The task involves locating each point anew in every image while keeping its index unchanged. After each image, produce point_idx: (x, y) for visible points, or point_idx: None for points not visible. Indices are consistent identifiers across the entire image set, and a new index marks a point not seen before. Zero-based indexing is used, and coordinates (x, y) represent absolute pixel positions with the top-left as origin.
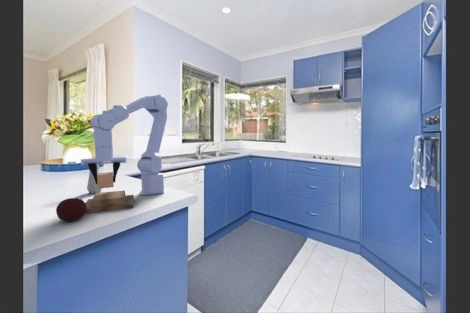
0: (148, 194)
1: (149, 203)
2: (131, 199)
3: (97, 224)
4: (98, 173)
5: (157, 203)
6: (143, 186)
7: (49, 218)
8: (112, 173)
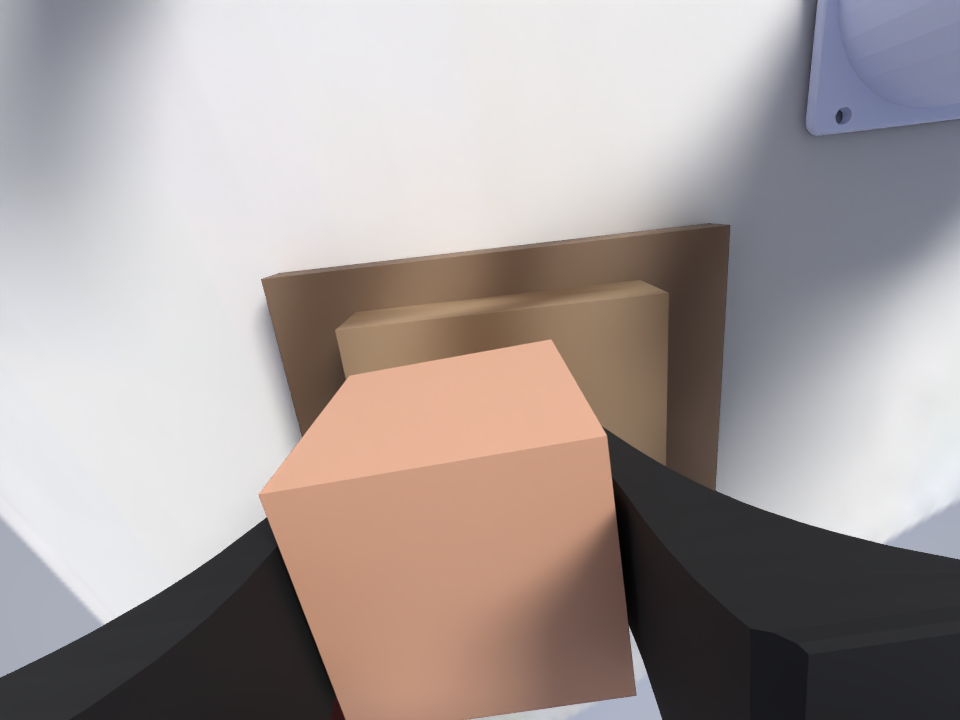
0: (893, 125)
1: (833, 439)
2: (703, 412)
3: (507, 715)
4: (300, 562)
5: (897, 456)
6: (942, 32)
7: (176, 576)
8: (623, 636)
